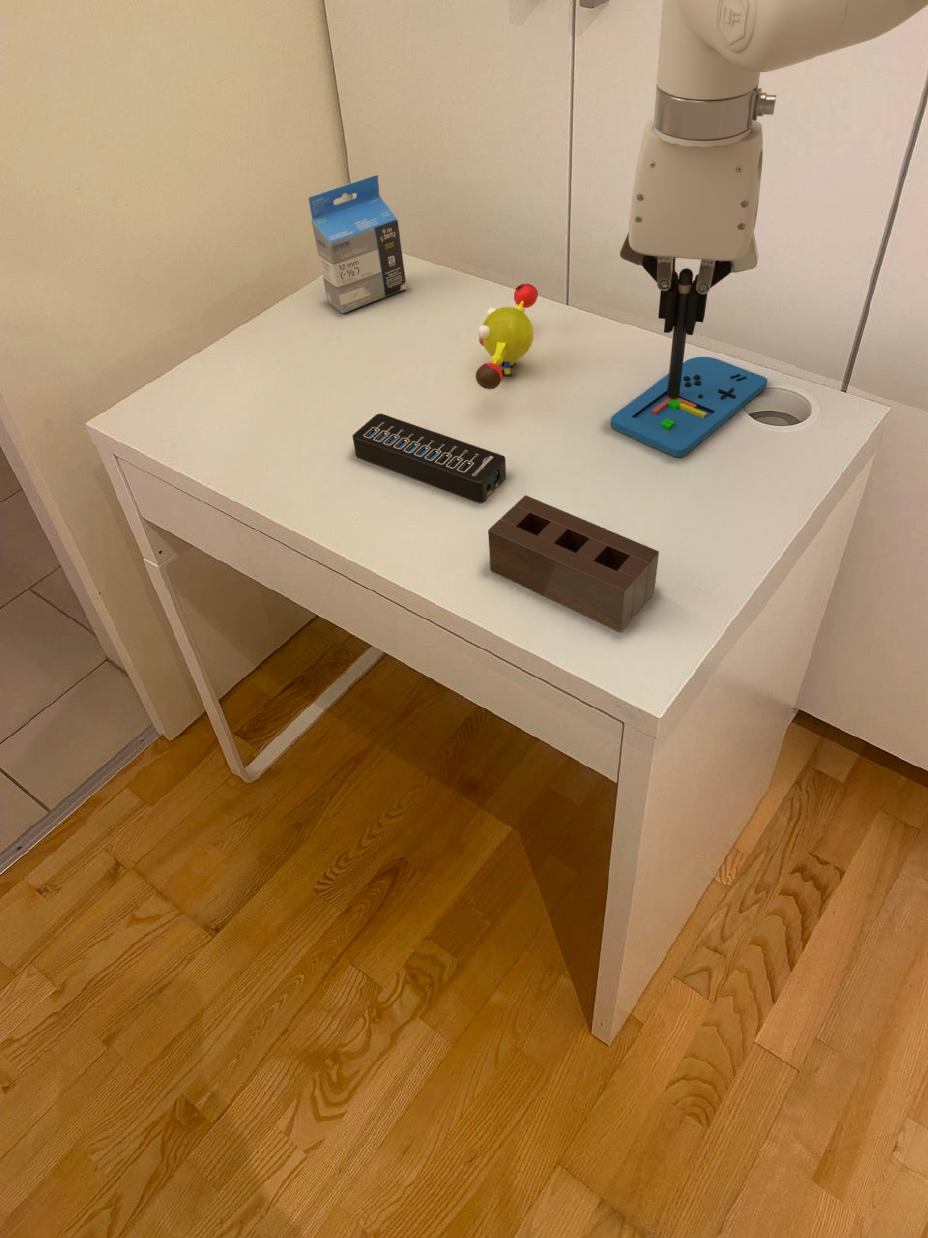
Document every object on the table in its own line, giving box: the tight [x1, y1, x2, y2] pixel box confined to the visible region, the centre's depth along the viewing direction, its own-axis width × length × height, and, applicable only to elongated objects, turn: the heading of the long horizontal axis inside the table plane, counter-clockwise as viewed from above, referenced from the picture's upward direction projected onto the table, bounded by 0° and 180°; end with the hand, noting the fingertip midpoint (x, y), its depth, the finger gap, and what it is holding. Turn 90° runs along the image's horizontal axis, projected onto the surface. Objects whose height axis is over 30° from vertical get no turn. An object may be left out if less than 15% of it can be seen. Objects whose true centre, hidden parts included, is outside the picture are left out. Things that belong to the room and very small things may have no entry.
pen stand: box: [487, 494, 660, 633], centre depth 76 cm, size 5×12×4 cm, turn 53°
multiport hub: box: [352, 413, 507, 504], centre depth 88 cm, size 4×14×2 cm, turn 56°
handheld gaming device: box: [610, 356, 768, 458], centre depth 92 cm, size 8×1×15 cm
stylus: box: [667, 267, 694, 399], centre depth 88 cm, size 1×1×13 cm
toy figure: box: [475, 283, 539, 390], centre depth 97 cm, size 18×6×7 cm, turn 164°
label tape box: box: [308, 174, 407, 314], centre depth 107 cm, size 9×4×12 cm, turn 124°
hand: (680, 325), depth 87 cm, fingers closed on stylus, 1 cm apart
